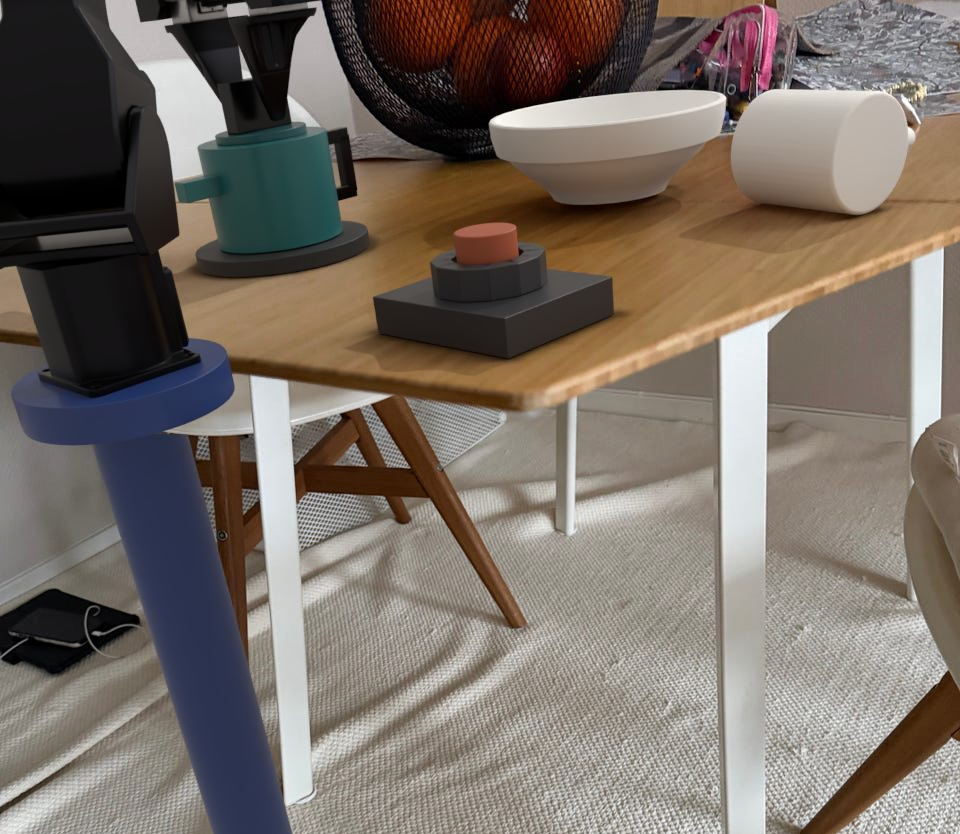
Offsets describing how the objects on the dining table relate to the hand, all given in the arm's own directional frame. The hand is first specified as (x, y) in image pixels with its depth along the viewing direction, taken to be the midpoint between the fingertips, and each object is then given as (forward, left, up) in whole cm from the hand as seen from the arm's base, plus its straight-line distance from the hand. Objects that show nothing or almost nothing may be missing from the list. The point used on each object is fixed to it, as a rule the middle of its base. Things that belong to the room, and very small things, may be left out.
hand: (258, 120), depth 84 cm
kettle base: (0, 0, -10) cm, 10 cm away
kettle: (0, 0, -9) cm, 9 cm away
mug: (+28, -33, -10) cm, 44 cm away
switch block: (-7, -31, -10) cm, 33 cm away
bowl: (+25, -13, -10) cm, 30 cm away
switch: (-7, -31, -6) cm, 32 cm away
